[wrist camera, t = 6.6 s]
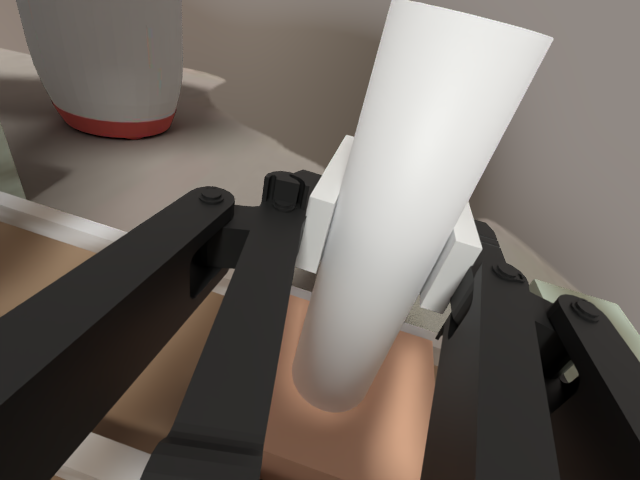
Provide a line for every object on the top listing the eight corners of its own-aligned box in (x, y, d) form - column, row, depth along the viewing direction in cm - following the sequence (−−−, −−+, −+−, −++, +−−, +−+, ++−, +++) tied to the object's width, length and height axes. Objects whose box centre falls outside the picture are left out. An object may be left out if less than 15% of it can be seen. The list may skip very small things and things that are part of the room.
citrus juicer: (83, 92, 49) (49, -95, 38) (203, 120, 50) (205, -54, 39) (-10, 123, 36) (-105, -147, 25) (153, 159, 37) (134, -83, 26)
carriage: (183, 450, 14) (155, -75, 5) (256, 314, 21) (305, -19, 11) (416, 536, 13) (932, 121, 4) (415, 367, 20) (609, 59, 11)
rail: (-540, 365, 13) (-867, 211, 9) (-33, 182, 28) (-72, 93, 24) (774, 917, 10) (1189, 1064, 6) (555, 373, 24) (625, 306, 20)
